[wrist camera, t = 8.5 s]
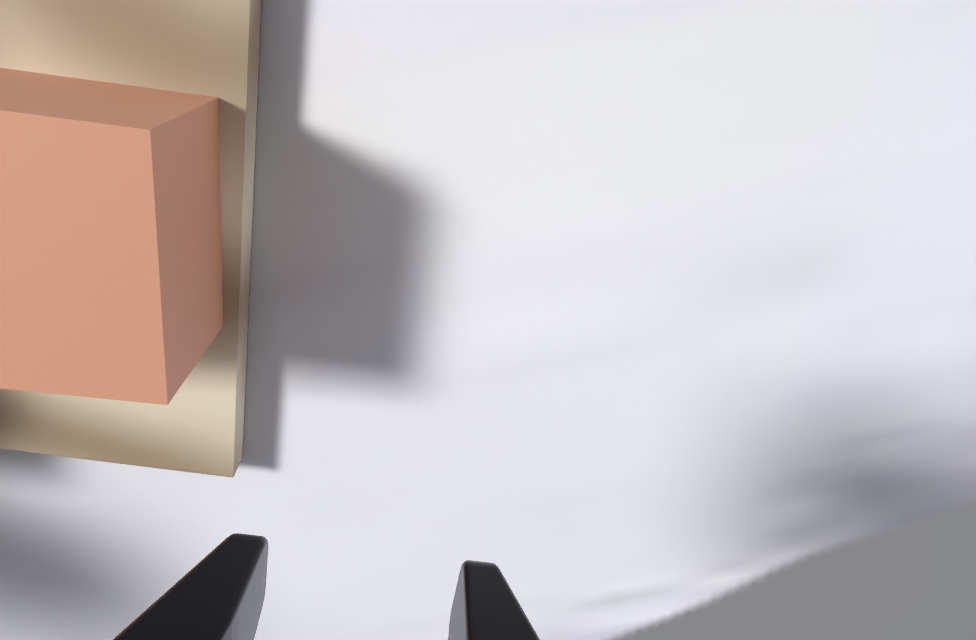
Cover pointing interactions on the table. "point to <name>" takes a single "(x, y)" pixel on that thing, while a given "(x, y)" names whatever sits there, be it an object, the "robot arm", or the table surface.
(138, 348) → the pink rectangular block
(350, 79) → the table surface
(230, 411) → the shelf
